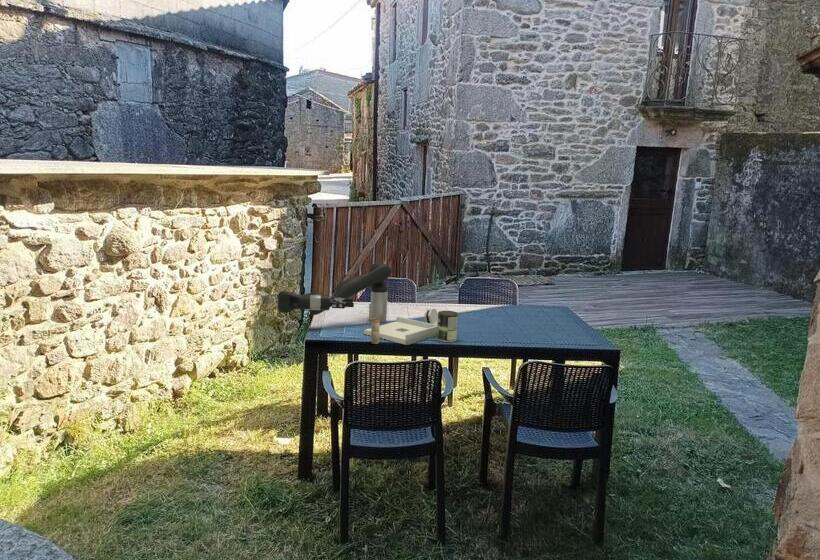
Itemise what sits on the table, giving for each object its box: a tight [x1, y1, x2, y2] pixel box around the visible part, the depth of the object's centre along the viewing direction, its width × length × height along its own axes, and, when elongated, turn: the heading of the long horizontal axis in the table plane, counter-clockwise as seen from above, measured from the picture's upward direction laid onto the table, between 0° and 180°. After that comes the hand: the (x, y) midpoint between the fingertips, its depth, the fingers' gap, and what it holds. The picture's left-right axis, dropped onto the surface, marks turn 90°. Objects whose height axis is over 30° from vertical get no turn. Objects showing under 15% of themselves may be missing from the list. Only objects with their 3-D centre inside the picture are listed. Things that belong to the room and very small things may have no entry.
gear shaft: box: [370, 318, 381, 345], centre depth 313 cm, size 4×4×12 cm
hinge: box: [423, 308, 438, 325], centre depth 354 cm, size 17×5×10 cm, turn 164°
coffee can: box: [436, 310, 459, 343], centre depth 324 cm, size 10×10×14 cm
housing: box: [363, 316, 438, 346], centre depth 331 cm, size 28×28×5 cm
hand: (353, 303), depth 309 cm, fingers open, 8 cm apart
